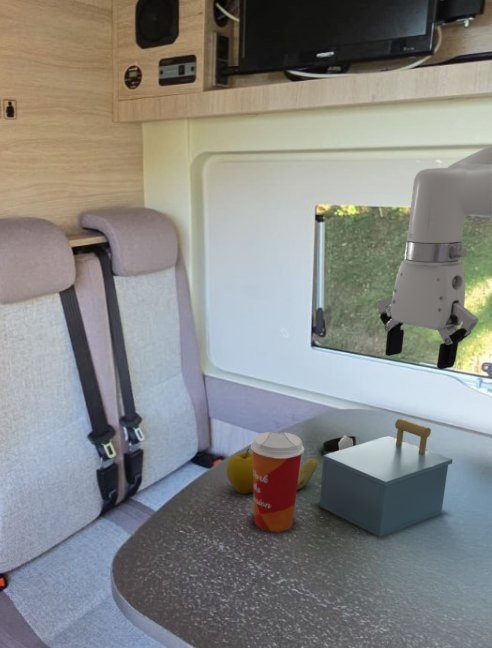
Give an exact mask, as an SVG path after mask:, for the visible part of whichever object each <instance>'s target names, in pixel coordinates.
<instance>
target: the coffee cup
mask: <svg viewBox="0 0 492 648" xmlns="http://www.w3.org/2000/svg"><path fill="white" fill-rule="evenodd" d="M250 449H251V450H252V453H253V484H254V491H253V514H254V516H253V517H254V525H256V526H257V527H258V528H260V529H262V530H263V531H267V532H276V533H277V532H284V531H287V530H290V529H291V527H292V525H293V520H294V514H295V507H296V499H297V492H298V490H297V485H298V477H299V470H300V469H301V460H302V455H303V453H304V451H305V447H304V445H303V441H302V439H301V438H300V436H298V435H296V434H293V433H289V432H285V431H284V432H283V433H281V432H280V431H272V432H270V431H266V432H261V433H259V434H256V435H255V436H254V438H253V441H252V443H251V444H250Z"/></svg>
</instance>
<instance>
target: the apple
mask: <svg viewBox="0 0 492 648" xmlns="http://www.w3.org/2000/svg"><path fill="white" fill-rule="evenodd" d="M226 476H227V479H228V481H229V483H230V484H231V485H232V486H233V488H234V489H235V490H236V491H237V492H238V493H239V494H240V495H247V494H251V493H254V484H253V452H252V451H251V452H250V448H249V447H248V448H247V450H246V451H245V452H240V453H236V454H234V455H232V456H231V457H230V458H229V460H228V462H227V464H226Z"/></svg>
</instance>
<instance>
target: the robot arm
mask: <svg viewBox="0 0 492 648" xmlns="http://www.w3.org/2000/svg"><path fill="white" fill-rule="evenodd" d="M412 186H413V187H412V195H411V203H410V211H409V212H410V213H409V221H408V229H407V238H406V246H405V253H404V254H405V255H404V259H403V260H401V263H400V265H399V268H398V271H397V274H396V279H395V282H394V287H393V291H392V295H391V296H388V297H386V298H384V299H381V300H379V301H378V302H377V303H376V305H377V309H378V312H379V314H380V315H379V318H380V320H381V322H382V324H383V325H384V326H383V329H384V331H385V332H387V333H386V342H385V352H384V353H385V354H384V355H385V356H388V357H389V356H395V355H399V354H402V352H403V346H404V345H403V343H404V336H405V330H404V329H402V328H403V327H404V326H405V325H409V326H414V327H418V328H422V329H428V330H433V331H437V332H438V333H439V335H440V338H441V339H442V341H443V343H440V344H439V349H438V355H437V363H436V368H437V369H439V370H445V369H449V368H453V367H454V366H455V362H456V361H457V353H458V349H459V348H458V347H459V343H462V342H463V340H464V339H466V338H467V337H468V336H470V335H471V334H472V331H473V330H474V328H475V327H476V325H477V324H478V323H479V317H477V316H476V315H475V314H473V313H472V312H471V311H470V310H469V309H468V308H466V307H465V304H466V303H465V302H466V273H465V265H464V263H463V262H460V258H465V257H466V255H467V251H468V250H467V248H465V247H464V248H463V247H462V244H463V243H462V241H463V234H464V227H465V220H466V218H467V217H468V216H470V217H481V218H492V145H490V146H488V147H485V148H483V149H481V150H478V151H476V152H474V153H472V154H469V155H468V156H466V157H464V158H461V159H459V160H457V161H456V162H454V163H452V164H450V165H449V166H448V167H436V168H435V167H433V168H425V169H423V170H422V169H421V170H420V171H418V173H416V175H415V176H414V180H413V185H412ZM459 326H460V328H458V327H459Z"/></svg>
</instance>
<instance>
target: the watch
mask: <svg viewBox="0 0 492 648" xmlns="http://www.w3.org/2000/svg"><path fill="white" fill-rule="evenodd" d="M356 445H357V438H356V436H354V435H351V436H349V435H348V436H346V435H343V436H341V437H336V438H332V439H329V440H326V441H324V442H323V443H322V446H323V451H324V453H325V452H326V453H333V452H336V451H339V450H343V449H346V448H349V447H353V446H356Z"/></svg>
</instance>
